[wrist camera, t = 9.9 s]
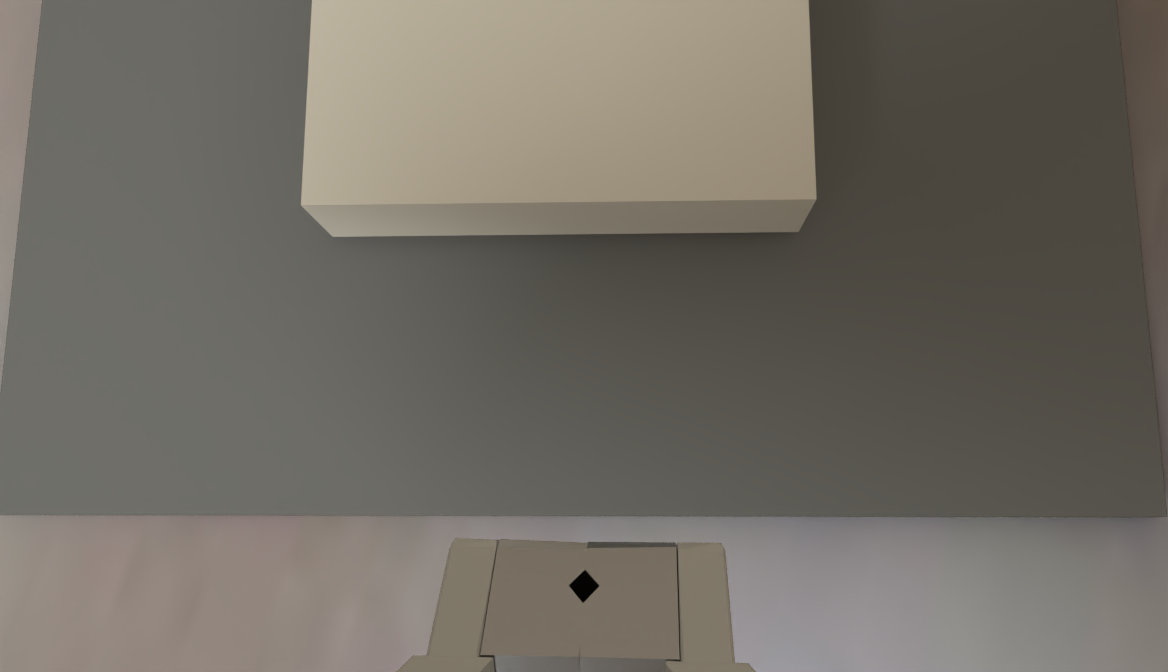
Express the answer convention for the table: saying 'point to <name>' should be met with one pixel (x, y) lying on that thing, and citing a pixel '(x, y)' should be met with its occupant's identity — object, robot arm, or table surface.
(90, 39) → the mat
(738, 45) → the block
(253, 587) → the table surface
